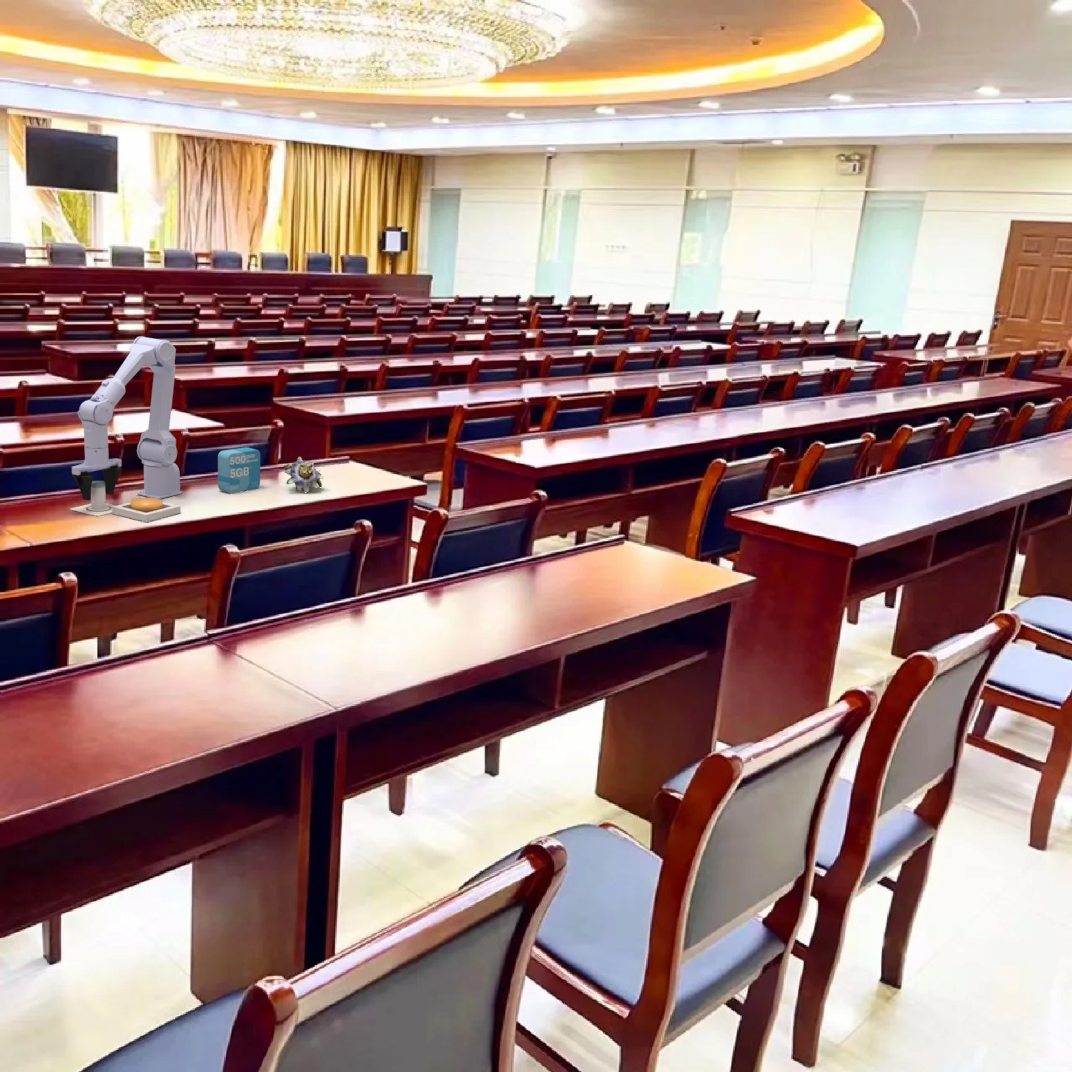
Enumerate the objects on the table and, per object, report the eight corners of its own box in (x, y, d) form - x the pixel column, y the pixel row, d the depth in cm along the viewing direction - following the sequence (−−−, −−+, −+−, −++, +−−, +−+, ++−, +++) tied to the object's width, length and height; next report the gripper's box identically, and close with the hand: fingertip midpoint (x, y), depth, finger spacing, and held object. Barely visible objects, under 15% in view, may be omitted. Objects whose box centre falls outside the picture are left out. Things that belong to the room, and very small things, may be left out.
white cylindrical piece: (99, 505, 279) (98, 480, 277) (108, 507, 277) (108, 482, 275) (88, 507, 276) (87, 482, 274) (97, 510, 274) (96, 484, 272)
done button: (146, 501, 280) (146, 495, 280) (169, 507, 277) (169, 501, 277) (123, 507, 273) (123, 501, 273) (146, 512, 270) (146, 506, 270)
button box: (147, 505, 284) (146, 498, 283) (180, 513, 279) (180, 506, 278) (112, 514, 273) (112, 506, 272) (146, 522, 268) (146, 515, 268)
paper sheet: (100, 502, 283) (100, 501, 283) (127, 508, 279) (127, 507, 279) (69, 509, 274) (69, 508, 274) (97, 516, 270) (97, 515, 270)
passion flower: (305, 510, 312) (288, 482, 303) (287, 495, 319) (270, 468, 310) (334, 487, 315) (319, 459, 307) (316, 473, 322) (300, 445, 314)
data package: (227, 494, 301) (227, 454, 298) (217, 491, 304) (217, 451, 301) (260, 488, 311) (260, 449, 308) (250, 485, 313) (250, 446, 310)
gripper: (107, 440, 279) (108, 489, 283) (62, 448, 267) (64, 499, 271) (126, 444, 277) (128, 493, 280) (82, 452, 264) (84, 504, 268)
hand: (98, 496), depth 275 cm, fingers open, 7 cm apart
